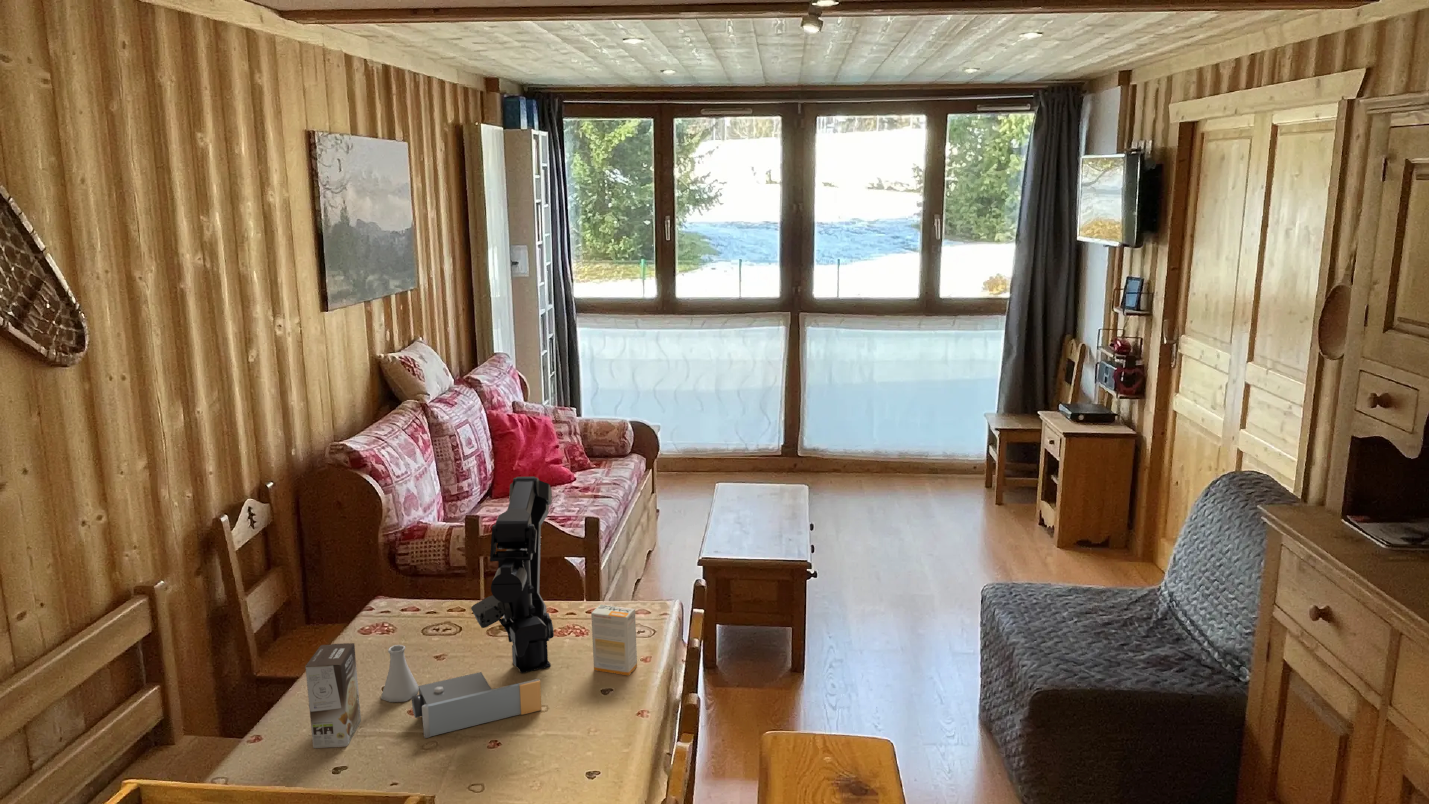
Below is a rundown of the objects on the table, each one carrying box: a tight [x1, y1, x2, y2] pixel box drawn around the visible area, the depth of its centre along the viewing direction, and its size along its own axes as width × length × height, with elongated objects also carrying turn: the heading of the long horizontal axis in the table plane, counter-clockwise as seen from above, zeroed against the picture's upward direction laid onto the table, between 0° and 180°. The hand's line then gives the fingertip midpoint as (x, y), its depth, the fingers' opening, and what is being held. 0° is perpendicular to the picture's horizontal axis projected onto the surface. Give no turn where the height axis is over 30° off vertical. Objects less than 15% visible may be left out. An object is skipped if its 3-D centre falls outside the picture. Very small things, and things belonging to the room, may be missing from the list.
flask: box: [380, 644, 420, 703], centre depth 197 cm, size 7×7×10 cm
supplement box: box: [590, 604, 638, 677], centre depth 207 cm, size 8×5×13 cm, turn 71°
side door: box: [421, 678, 543, 739], centre depth 186 cm, size 22×1×6 cm, turn 117°
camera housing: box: [411, 671, 493, 720], centre depth 188 cm, size 14×8×7 cm, turn 117°
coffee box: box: [304, 642, 362, 749], centre depth 182 cm, size 9×6×16 cm
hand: (519, 656), depth 194 cm, fingers closed
